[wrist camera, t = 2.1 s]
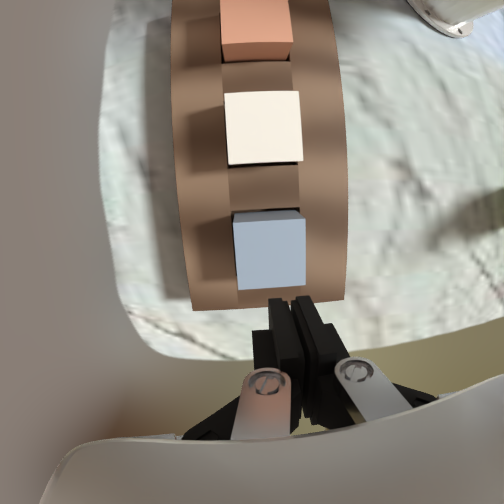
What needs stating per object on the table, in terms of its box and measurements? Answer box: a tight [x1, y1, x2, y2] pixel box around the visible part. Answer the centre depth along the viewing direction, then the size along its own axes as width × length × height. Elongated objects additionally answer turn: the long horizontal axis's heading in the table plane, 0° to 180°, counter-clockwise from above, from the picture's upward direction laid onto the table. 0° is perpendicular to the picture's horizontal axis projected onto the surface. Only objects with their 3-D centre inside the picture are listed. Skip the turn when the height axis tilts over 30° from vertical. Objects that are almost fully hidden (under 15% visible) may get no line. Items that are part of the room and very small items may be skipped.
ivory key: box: [224, 91, 303, 165], centre depth 19 cm, size 5×5×4 cm
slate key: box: [233, 210, 306, 290], centre depth 22 cm, size 5×5×4 cm
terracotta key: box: [220, 0, 293, 63], centre depth 17 cm, size 5×5×4 cm
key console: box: [171, 0, 348, 311], centre depth 23 cm, size 30×14×4 cm, turn 3°
